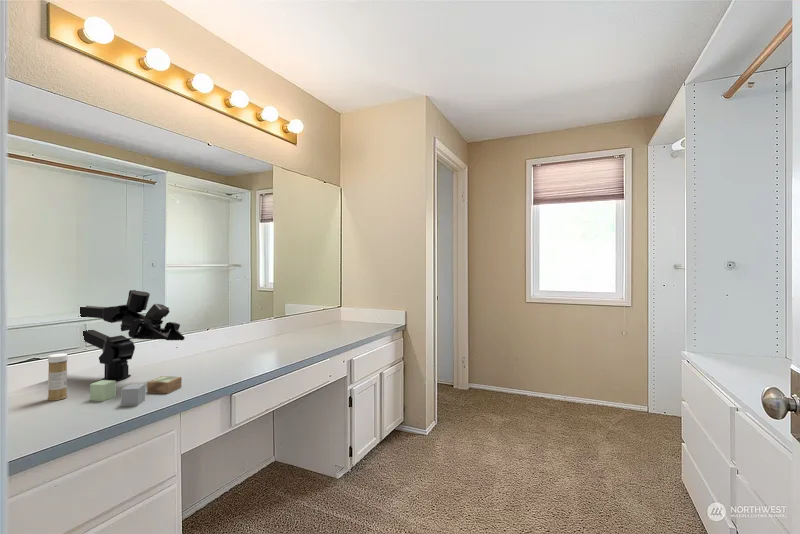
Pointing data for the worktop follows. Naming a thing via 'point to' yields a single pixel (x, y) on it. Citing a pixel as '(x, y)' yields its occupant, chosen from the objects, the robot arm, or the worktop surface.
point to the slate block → (133, 395)
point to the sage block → (102, 390)
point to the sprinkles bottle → (57, 376)
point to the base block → (163, 384)
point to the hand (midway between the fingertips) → (174, 338)
